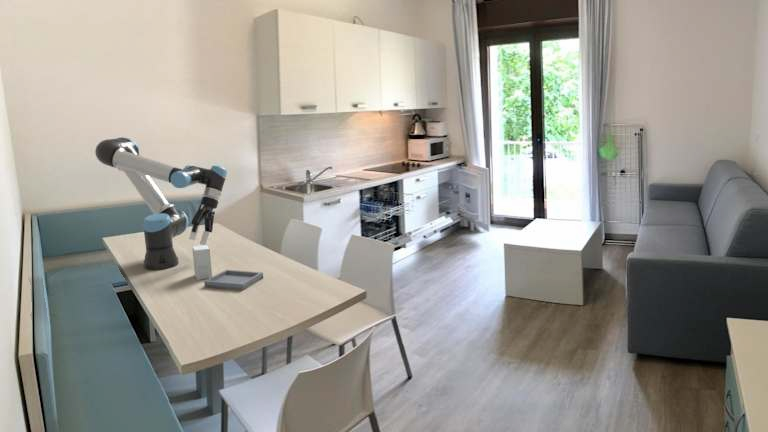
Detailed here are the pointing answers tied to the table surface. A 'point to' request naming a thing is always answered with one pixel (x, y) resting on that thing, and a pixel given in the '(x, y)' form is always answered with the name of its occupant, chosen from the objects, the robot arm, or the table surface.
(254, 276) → the tray
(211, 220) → the robot arm
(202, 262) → the small box
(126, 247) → the table surface
